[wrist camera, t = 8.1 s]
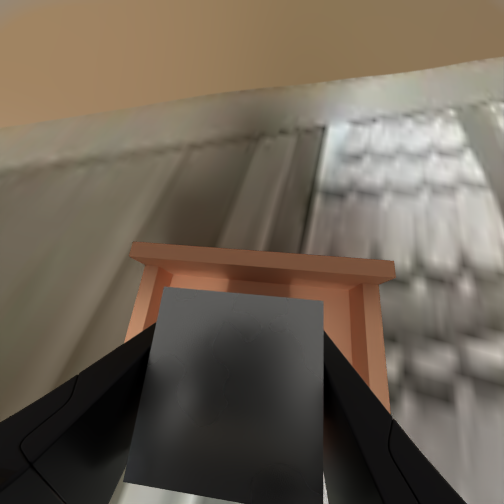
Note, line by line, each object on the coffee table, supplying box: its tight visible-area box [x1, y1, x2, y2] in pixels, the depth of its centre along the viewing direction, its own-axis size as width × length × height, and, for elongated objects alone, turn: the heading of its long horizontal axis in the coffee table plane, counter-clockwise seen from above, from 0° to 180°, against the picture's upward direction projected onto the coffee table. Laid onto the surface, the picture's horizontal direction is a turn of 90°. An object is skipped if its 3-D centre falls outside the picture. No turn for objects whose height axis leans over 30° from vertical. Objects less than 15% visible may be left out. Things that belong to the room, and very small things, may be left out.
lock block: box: [123, 287, 324, 504], centre depth 11 cm, size 5×5×10 cm
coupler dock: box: [124, 242, 396, 414], centre depth 14 cm, size 12×16×5 cm
